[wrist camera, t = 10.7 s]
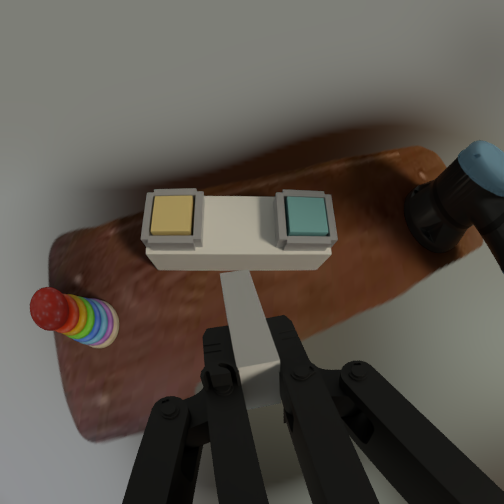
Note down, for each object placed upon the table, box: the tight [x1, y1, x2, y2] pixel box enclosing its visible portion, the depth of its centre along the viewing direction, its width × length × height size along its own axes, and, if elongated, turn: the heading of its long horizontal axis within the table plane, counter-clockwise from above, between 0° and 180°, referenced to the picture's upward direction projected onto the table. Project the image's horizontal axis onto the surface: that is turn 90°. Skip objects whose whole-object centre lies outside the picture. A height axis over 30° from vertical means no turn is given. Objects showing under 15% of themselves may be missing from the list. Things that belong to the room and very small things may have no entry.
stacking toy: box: [30, 287, 119, 348], centre depth 34 cm, size 8×8×19 cm
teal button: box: [284, 197, 328, 236], centre depth 41 cm, size 5×5×4 cm
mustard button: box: [151, 195, 195, 236], centre depth 39 cm, size 5×5×4 cm
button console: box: [141, 189, 338, 270], centre depth 44 cm, size 26×9×11 cm, turn 91°
